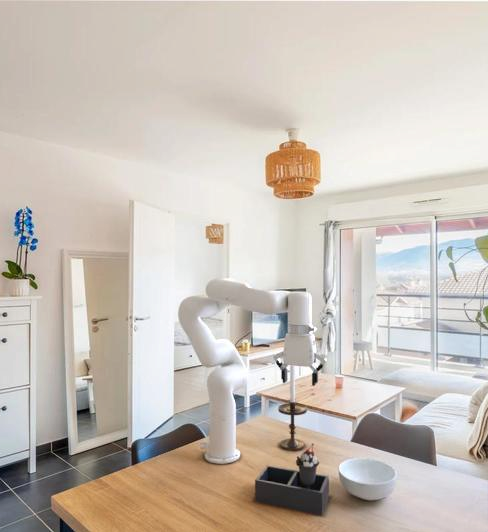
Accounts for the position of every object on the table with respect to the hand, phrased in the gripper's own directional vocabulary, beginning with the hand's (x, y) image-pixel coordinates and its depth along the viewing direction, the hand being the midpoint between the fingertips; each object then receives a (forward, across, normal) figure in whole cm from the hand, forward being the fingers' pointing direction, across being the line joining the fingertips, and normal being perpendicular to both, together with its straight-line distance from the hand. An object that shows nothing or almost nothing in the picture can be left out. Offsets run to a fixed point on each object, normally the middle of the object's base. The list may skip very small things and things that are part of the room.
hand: (299, 383), depth 129 cm
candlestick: (+31, +9, -24) cm, 40 cm away
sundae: (+29, -6, +12) cm, 32 cm away
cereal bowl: (+31, -21, +1) cm, 37 cm away
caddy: (+30, -1, +12) cm, 33 cm away
